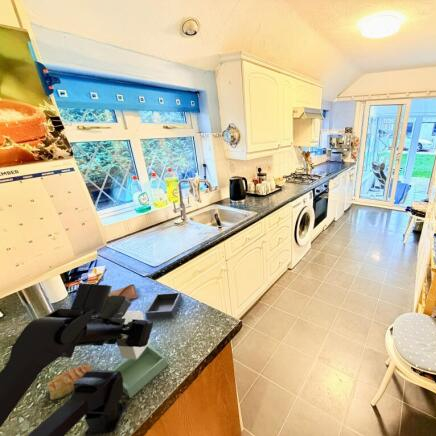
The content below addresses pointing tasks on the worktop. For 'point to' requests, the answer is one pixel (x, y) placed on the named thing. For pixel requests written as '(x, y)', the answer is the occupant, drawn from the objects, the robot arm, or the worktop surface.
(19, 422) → the worktop surface
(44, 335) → the robot arm
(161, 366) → the front tote
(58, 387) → the pastry
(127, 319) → the package
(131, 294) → the sunglasses case
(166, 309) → the tray
